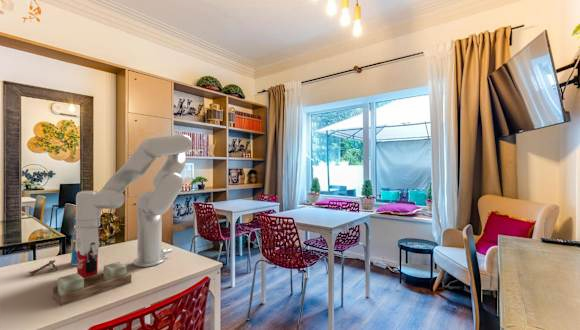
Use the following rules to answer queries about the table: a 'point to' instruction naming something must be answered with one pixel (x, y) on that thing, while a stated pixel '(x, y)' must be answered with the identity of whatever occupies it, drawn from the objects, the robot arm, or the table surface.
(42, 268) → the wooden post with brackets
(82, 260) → the beverage can
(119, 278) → the rail
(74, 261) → the beverage bottle
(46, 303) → the table surface
